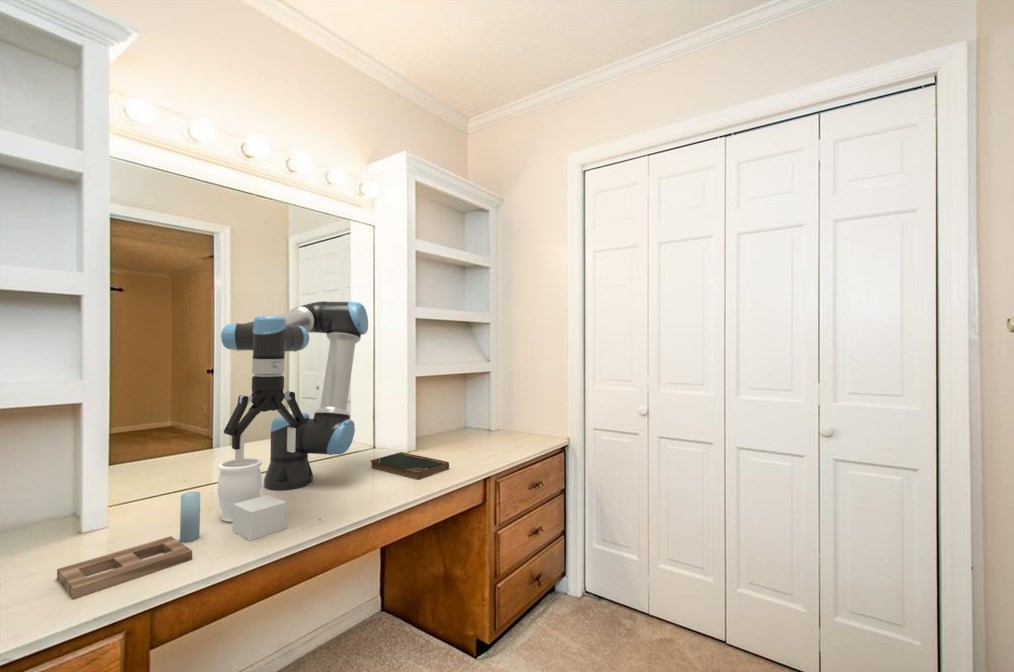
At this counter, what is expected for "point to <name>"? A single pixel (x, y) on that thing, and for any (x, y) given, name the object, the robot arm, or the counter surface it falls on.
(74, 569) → the socket board
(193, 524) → the peg
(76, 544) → the counter surface
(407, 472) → the book
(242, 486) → the jar
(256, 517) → the cover
